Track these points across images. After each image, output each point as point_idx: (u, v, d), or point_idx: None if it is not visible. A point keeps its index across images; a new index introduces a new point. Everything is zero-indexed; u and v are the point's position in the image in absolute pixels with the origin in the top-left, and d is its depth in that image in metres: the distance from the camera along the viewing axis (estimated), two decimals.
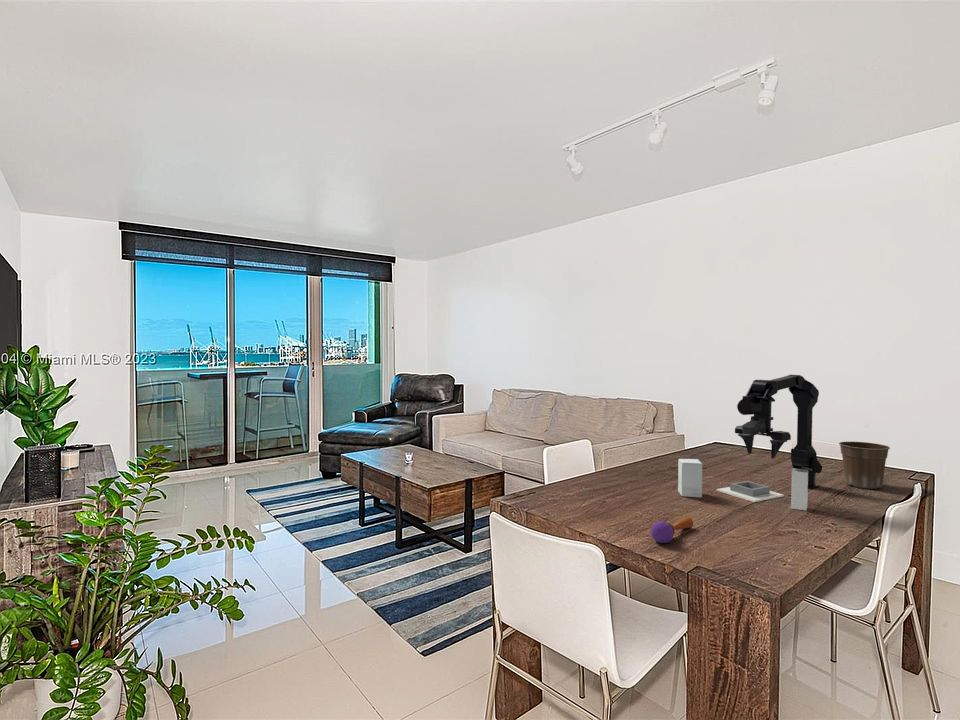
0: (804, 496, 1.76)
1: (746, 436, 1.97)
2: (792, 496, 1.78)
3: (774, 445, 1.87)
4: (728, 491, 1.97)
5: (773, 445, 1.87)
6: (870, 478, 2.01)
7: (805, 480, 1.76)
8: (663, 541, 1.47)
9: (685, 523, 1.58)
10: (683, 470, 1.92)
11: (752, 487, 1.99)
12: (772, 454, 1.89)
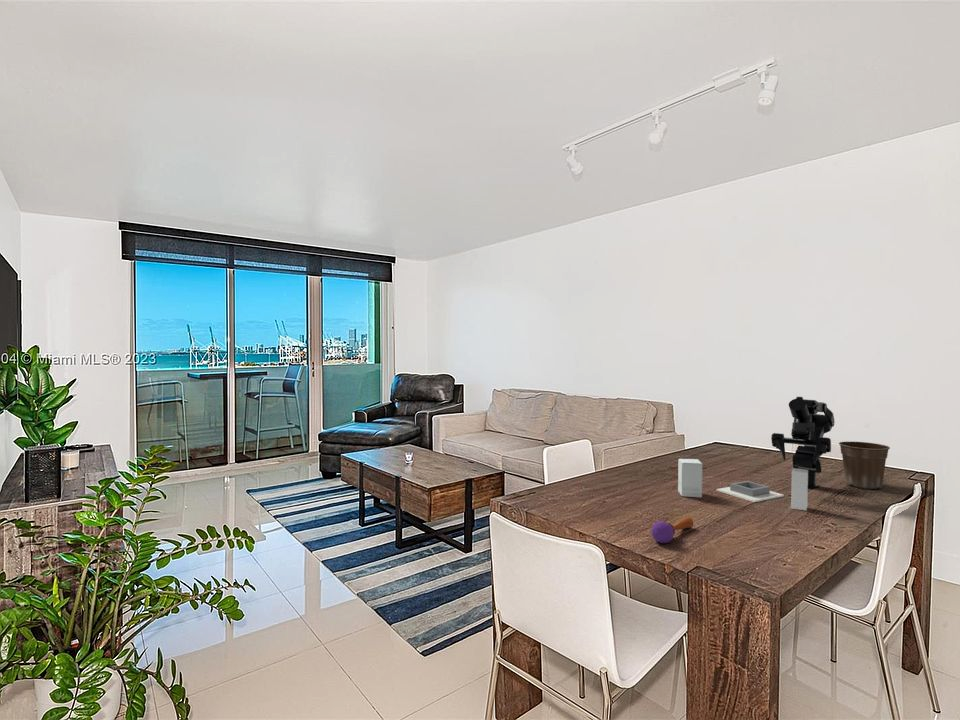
0: (804, 496, 1.76)
1: (784, 442, 1.96)
2: (792, 496, 1.78)
3: (819, 449, 1.88)
4: (728, 491, 1.97)
5: (818, 449, 1.89)
6: (870, 478, 2.01)
7: (805, 480, 1.76)
8: (664, 541, 1.47)
9: (686, 523, 1.58)
10: (683, 470, 1.92)
11: (752, 487, 1.99)
12: (814, 458, 1.88)
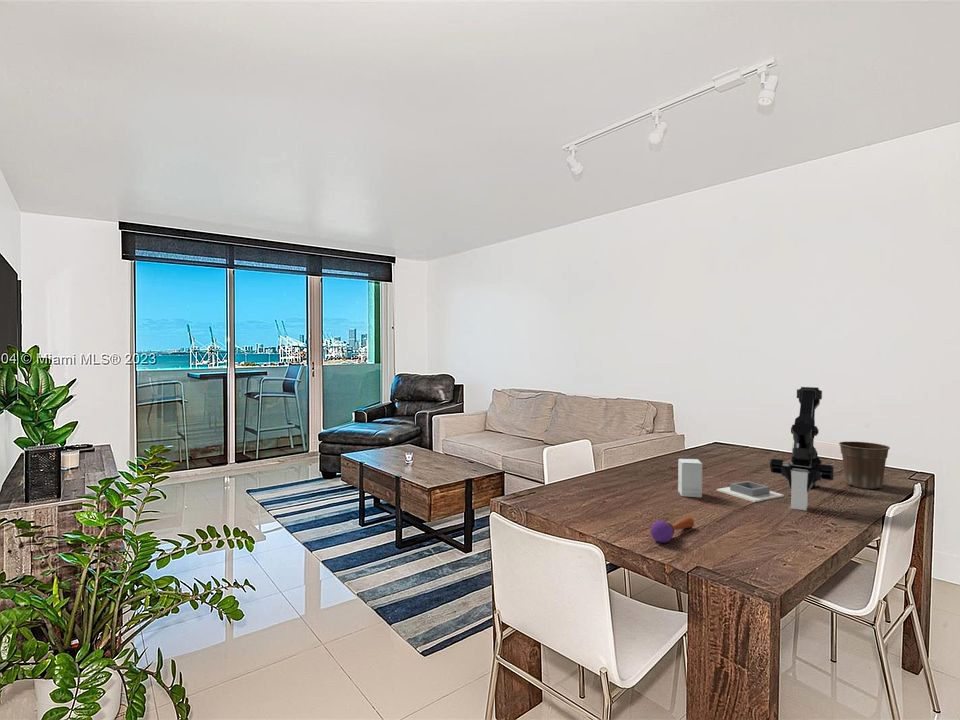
0: (804, 496, 1.76)
1: (790, 469, 1.82)
2: (792, 496, 1.78)
3: (813, 476, 1.78)
4: (728, 491, 1.97)
5: (812, 476, 1.78)
6: (870, 478, 2.01)
7: (805, 480, 1.76)
8: (662, 540, 1.48)
9: (686, 523, 1.58)
10: (683, 470, 1.92)
11: (752, 487, 1.99)
12: (808, 486, 1.77)
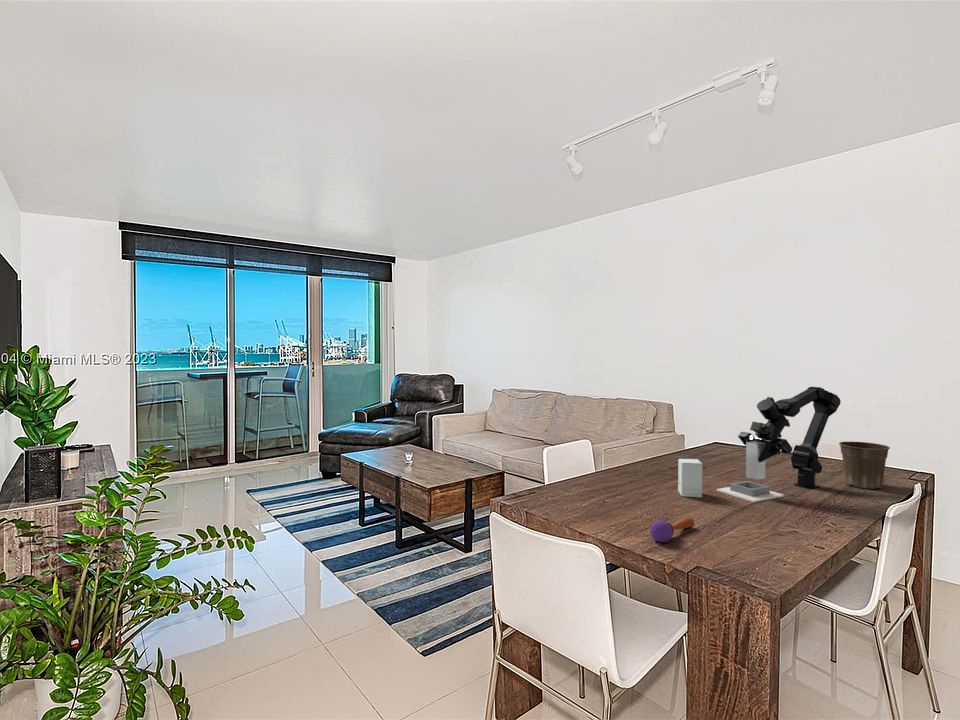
0: (755, 466, 1.91)
1: None
2: (747, 465, 1.94)
3: (767, 448, 1.90)
4: (728, 491, 1.97)
5: (766, 448, 1.90)
6: (870, 478, 2.01)
7: (756, 451, 1.90)
8: (662, 540, 1.48)
9: (686, 523, 1.58)
10: (683, 470, 1.92)
11: (752, 487, 1.99)
12: (760, 457, 1.90)
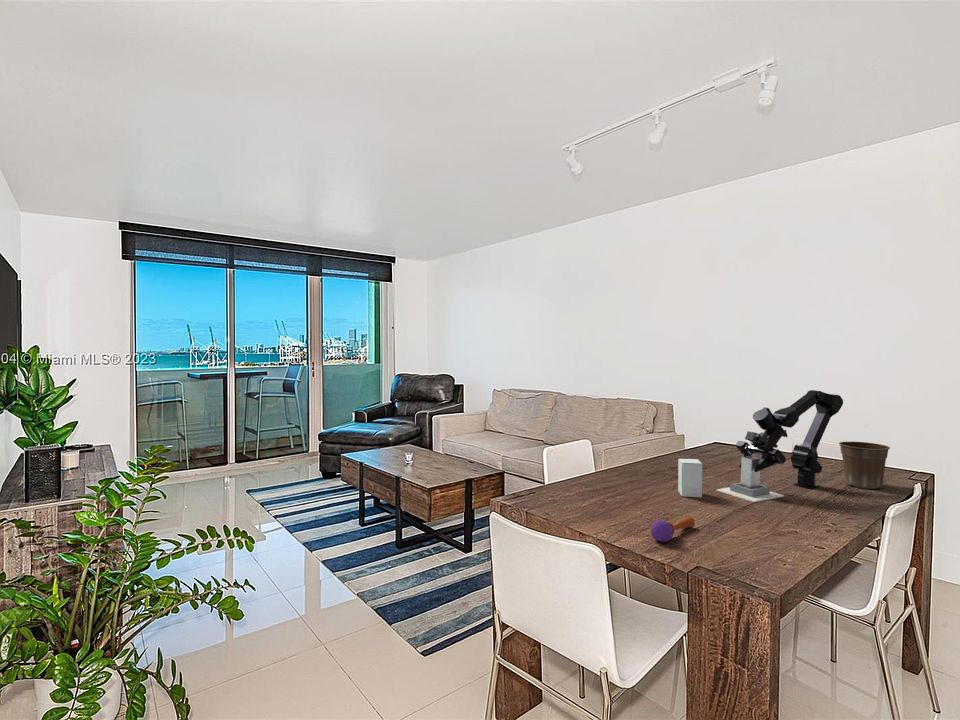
0: (749, 481, 1.94)
1: (746, 451, 2.00)
2: (741, 480, 1.97)
3: (763, 459, 1.92)
4: (728, 491, 1.97)
5: (762, 459, 1.92)
6: (870, 478, 2.01)
7: (750, 466, 1.93)
8: (662, 540, 1.48)
9: (686, 522, 1.58)
10: (683, 470, 1.92)
11: None
12: (756, 467, 1.92)
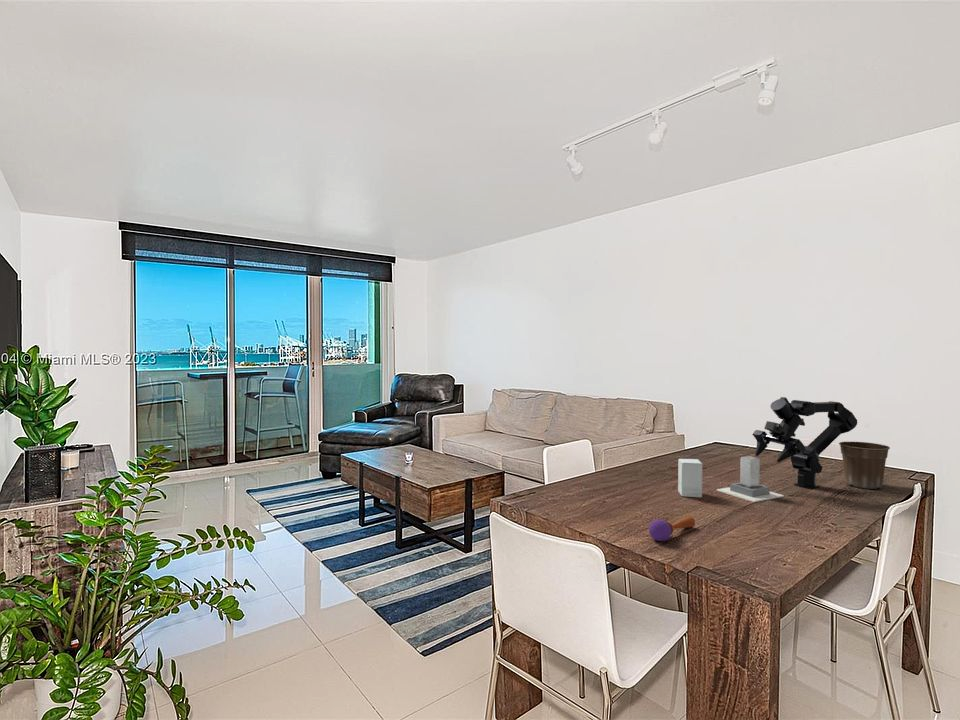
0: (748, 481, 1.94)
1: (761, 439, 2.04)
2: (741, 480, 1.97)
3: (786, 449, 1.93)
4: (728, 491, 1.97)
5: (785, 449, 1.94)
6: (870, 478, 2.01)
7: (749, 466, 1.94)
8: (660, 539, 1.48)
9: (686, 522, 1.58)
10: (683, 470, 1.92)
11: None
12: (779, 457, 1.94)
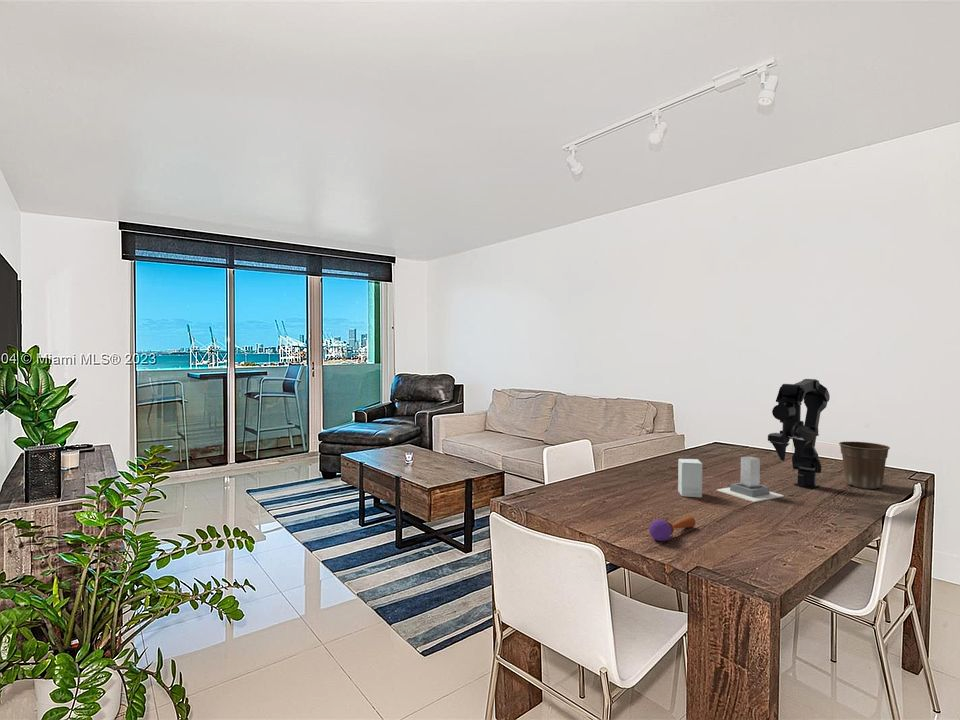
0: (748, 481, 1.94)
1: None
2: (741, 480, 1.97)
3: (805, 445, 1.96)
4: (728, 491, 1.97)
5: (804, 445, 1.96)
6: (870, 478, 2.01)
7: (749, 466, 1.94)
8: (661, 539, 1.49)
9: (687, 522, 1.59)
10: (683, 470, 1.92)
11: None
12: (800, 454, 1.97)
